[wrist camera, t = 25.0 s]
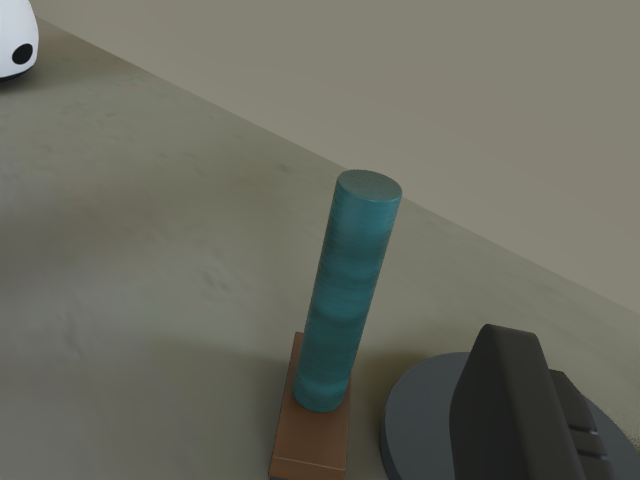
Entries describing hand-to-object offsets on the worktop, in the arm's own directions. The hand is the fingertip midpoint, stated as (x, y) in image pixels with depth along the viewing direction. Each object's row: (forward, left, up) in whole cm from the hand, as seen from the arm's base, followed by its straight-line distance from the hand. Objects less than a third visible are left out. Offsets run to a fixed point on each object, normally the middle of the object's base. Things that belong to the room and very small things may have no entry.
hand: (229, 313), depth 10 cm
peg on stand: (-12, +10, -19) cm, 25 cm away
